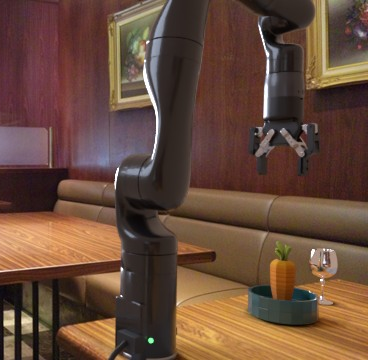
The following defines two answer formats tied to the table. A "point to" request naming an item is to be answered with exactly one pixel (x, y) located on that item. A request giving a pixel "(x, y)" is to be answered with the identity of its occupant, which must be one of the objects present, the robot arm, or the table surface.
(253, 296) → the bowl
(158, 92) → the robot arm
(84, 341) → the table surface
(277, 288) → the carrot
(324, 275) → the wineglass
